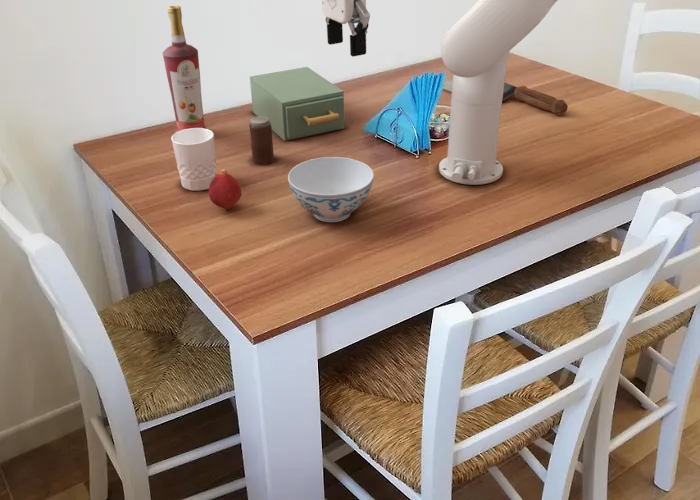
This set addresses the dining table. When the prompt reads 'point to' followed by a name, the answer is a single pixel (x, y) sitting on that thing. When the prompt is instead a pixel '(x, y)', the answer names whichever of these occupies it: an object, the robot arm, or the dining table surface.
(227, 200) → the onion
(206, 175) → the white cup
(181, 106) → the liquor
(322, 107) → the drawer
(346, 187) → the chinaware
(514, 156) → the dining table surface
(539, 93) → the meat cleaver
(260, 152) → the pepper mill
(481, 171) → the robot arm
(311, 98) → the cabinet
